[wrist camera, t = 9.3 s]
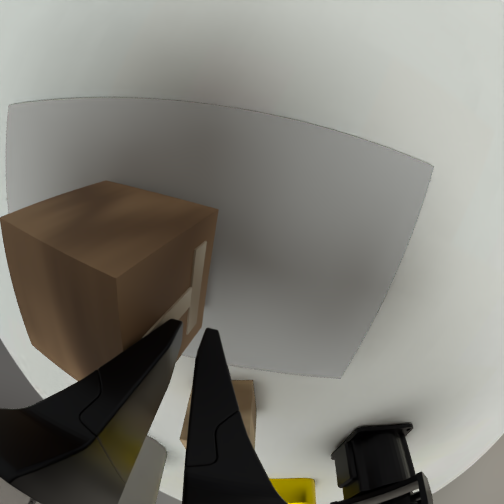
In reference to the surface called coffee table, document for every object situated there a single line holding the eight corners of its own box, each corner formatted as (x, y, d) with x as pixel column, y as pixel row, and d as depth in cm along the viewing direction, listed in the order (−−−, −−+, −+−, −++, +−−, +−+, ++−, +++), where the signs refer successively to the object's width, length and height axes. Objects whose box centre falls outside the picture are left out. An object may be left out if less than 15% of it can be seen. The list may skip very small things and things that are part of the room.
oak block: (252, 379, 18) (248, 444, 13) (256, 410, 20) (253, 467, 15) (194, 378, 18) (179, 439, 14) (205, 409, 20) (195, 463, 15)
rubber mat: (430, 165, 11) (434, 166, 11) (339, 375, 17) (340, 378, 17) (11, 104, 10) (8, 104, 10) (28, 302, 16) (26, 304, 16)
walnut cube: (118, 279, 6) (-1, 217, 7) (137, 418, 8) (32, 344, 9) (220, 209, 11) (106, 180, 12) (203, 327, 14) (107, 285, 15)
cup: (102, 413, 22) (69, 494, 13) (176, 446, 24) (159, 529, 15) (94, 436, 25) (69, 499, 16) (155, 463, 27) (139, 528, 18)
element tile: (300, 500, 33) (300, 523, 29) (209, 497, 34) (206, 520, 30) (317, 474, 27) (319, 505, 23) (196, 470, 28) (191, 501, 23)
